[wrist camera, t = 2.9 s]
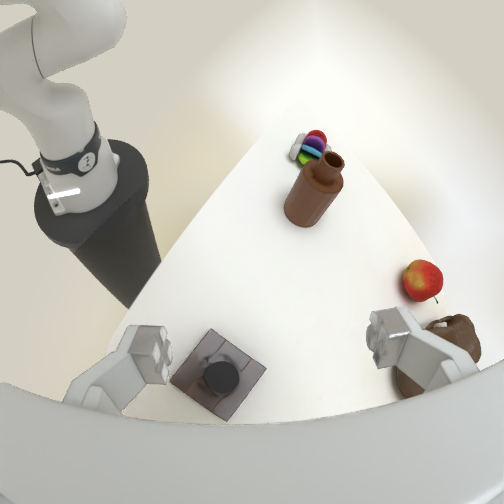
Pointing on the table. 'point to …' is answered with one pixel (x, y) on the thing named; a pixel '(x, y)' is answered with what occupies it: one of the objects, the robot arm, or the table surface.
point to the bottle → (314, 189)
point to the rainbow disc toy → (309, 146)
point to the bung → (222, 377)
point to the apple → (422, 280)
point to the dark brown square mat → (208, 353)
